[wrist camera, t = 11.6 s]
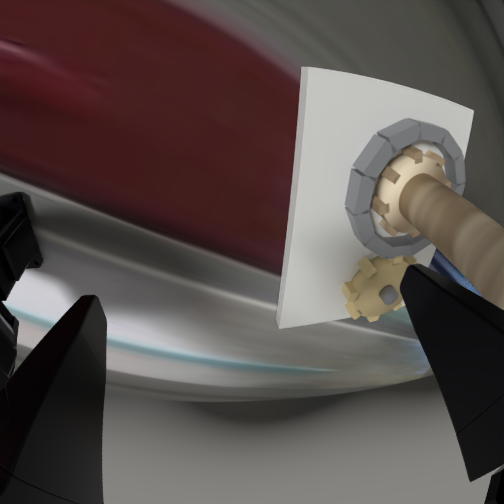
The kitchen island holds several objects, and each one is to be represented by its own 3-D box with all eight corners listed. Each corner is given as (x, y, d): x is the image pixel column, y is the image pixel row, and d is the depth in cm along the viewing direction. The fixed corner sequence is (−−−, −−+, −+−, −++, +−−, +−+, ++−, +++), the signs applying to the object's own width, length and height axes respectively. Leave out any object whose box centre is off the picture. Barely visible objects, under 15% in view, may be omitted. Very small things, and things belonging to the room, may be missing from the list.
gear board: (275, 319, 28) (285, 349, 25) (301, 66, 16) (325, 67, 13) (406, 297, 31) (422, 319, 28) (464, 107, 18) (494, 118, 15)
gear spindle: (350, 207, 21) (475, 355, 10) (403, 125, 18) (569, 224, 6) (405, 240, 24) (503, 357, 13) (450, 174, 21) (570, 269, 10)
